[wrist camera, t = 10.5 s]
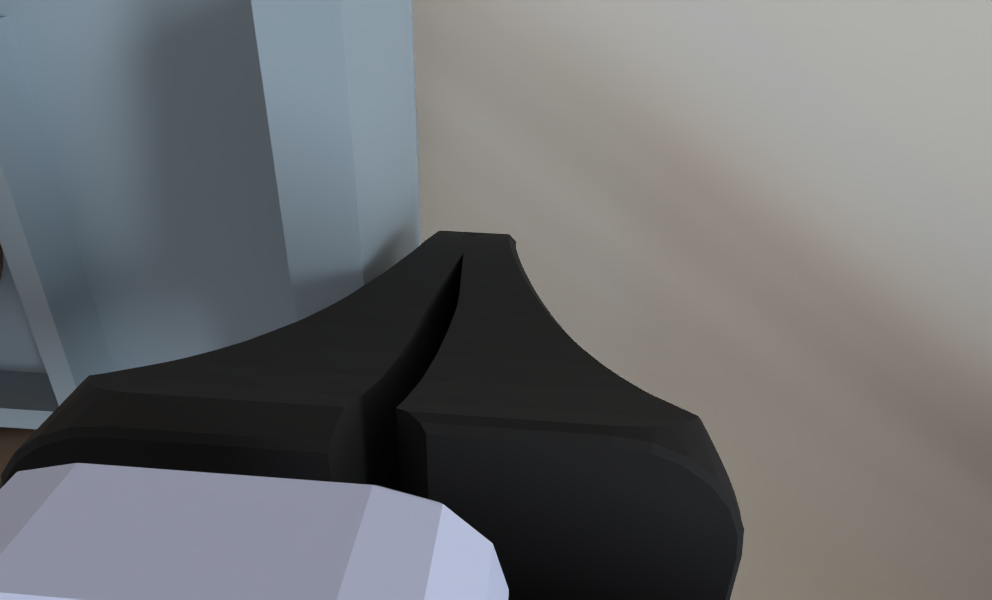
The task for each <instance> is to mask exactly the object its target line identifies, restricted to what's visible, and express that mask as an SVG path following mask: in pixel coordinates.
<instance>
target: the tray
mask: <svg viewBox="0 0 992 600" xmlns="http://www.w3.org/2000/svg"><path fill="white" fill-rule="evenodd" d="M0 244H1V246H2V249H3V269H2V275H1V280H0V427H9V428H23V429H38V428H39V427H40V425H41V424H42V423H43V422H44V421H45V420H46V419H47V418H48V417H49V416H50V415H51V414H52V413H53V412H54V411H55V410H56V409H57V408H58V407H59V406H60V405H61V404H62V402H63V401H64V400H65V399H66V398H67V397H68V396H69V395H70V394H71V393H72V392H73V391H74V390H75V389H76V388H77V387H78V386H79V385H80V384H81V383H82V382H83V381H84V380H85V379H86V378H87V377H88V376H89V375H95V374H102V373H109V372H114V371H120V370H125V369H131V368H136V367H142V366H147V365H153V364H159V363H164V362H169V361H173V360H178V359H182V358H187V357H190V356H194V355H198V354H202V353H206V352H210V351H214V350H217V349H221V348H224V347H227V346H231V345H234V344H238V343H241V342H244V341H247V340H250V339H252V338H255V337H258V336H260V335H263V334H266V333H268V332H271V331H274V330H276V329H279V328H282V327H284V326H287V325H289V324H292V323H295V322H297V321H299V320H302V319H304V318H306V317H308V316H310V315H312V314H314V313H316V312H318V311H320V310H322V309H324V308H327V307H328V306H330V305H332V304H334V303H336V302H338V301H340V300H341V299H343V298H345V297H347V296H348V295H350V294H352V293H353V292H355V291H356V290H358V289H359V288H361V287H362V286H364V285H365V284H367V283H369V282H370V281H372V280H373V279H375V278H376V277H378V276H379V275H381V274H382V273H384V272H385V271H387V270H388V269H390V268H391V267H392V266H394V265H395V264H396V263H398V262H399V261H400V260H402V259H403V258H404V257H406V256H407V255H408V254H410V253H411V252H412V251H413V250H415V249H416V248H417V247H419V246H420V245H421V229H420V203H419V176H418V149H417V123H416V96H415V69H414V43H413V16H412V0H0Z"/></svg>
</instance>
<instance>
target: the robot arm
mask: <svg viewBox="0 0 992 600" xmlns="http://www.w3.org/2000/svg"><path fill="white" fill-rule="evenodd" d="M743 534H744V528H743V524H742V521H741V516H740V510H739V507H738V503H737V500H736V496H735V493H734V490H733V488H732V485H731V482H730V480H729V477H728V475H727V472H726V470H725V468H724V466H723V463H722V461H721V459H720V457H719V455H718V453H717V451H716V449H715V447H714V445H713V443H712V441H711V439H710V436H709V434H708V432H707V430H706V429H705V427H704V425H703V423H702V421H701V419H700V418H699V417H698V416H697V415H695V414H692V413H690V412H688V411H686V410H684V409H681V408H679V407H677V406H675V405H673V404H670V403H668V402H666V401H664V400H662V399H659V398H657V397H655V396H653V395H651V394H649V393H647V392H645V391H643V390H641V389H640V388H638V387H636V386H635V385H633V384H631V383H630V382H628V381H626V380H625V379H623V378H621V377H620V376H618V375H617V374H615V373H614V372H612V371H611V370H609V369H608V368H606V367H605V366H604V365H602V364H601V363H600V362H598V361H597V360H596V359H595V358H593V357H592V356H591V355H590V354H588V353H587V352H586V351H585V350H583V349H582V348H581V347H580V346H579V345H578V344H577V343H576V342H574V341H573V340H572V339H571V337H570V336H569V335H568V334H567V333H566V332H565V331H564V330H563V329H562V328H561V326H560V325H559V324H558V323H557V322H556V320H555V319H554V318H553V316H552V315H551V314H550V312H549V311H548V310H547V308H546V307H545V305H544V304H543V302H542V301H541V299H540V298H539V296H538V295H537V293H536V292H535V290H534V288H533V286H532V284H531V282H530V281H529V279H528V277H527V275H526V273H525V271H524V269H523V267H522V264H521V262H520V260H519V257H518V254H517V251H516V241H515V240H514V239H513V238H512V237H511V236H510V235H509V234H491V233H472V232H453V231H438V232H437V233H435V234H434V235H433V236H431V237H430V238H429V239H427V240H426V241H425V242H424V243H422V244H421V245H420V246H419V247H417V248H416V249H415V250H413V251H412V252H411V253H410V254H408V255H407V256H406V257H404V258H403V259H402V260H400V261H399V262H398V263H396V264H395V265H394V266H392V267H391V268H390V269H388V270H387V271H385V272H384V273H382V274H381V275H379V276H378V277H376V278H375V279H373V280H372V281H370V282H369V283H367V284H365V285H364V286H362V287H361V288H359V289H358V290H356V291H355V292H353V293H352V294H350V295H348V296H347V297H345V298H343V299H341V300H340V301H338V302H336V303H334V304H332V305H330V306H328V307H327V308H324V309H322V310H320V311H318V312H316V313H314V314H312V315H310V316H308V317H306V318H304V319H302V320H299V321H297V322H295V323H292V324H289V325H287V326H284V327H282V328H279V329H276V330H274V331H271V332H268V333H266V334H263V335H260V336H258V337H255V338H252V339H250V340H247V341H244V342H241V343H238V344H234V345H231V346H227V347H224V348H221V349H217V350H214V351H210V352H206V353H202V354H198V355H194V356H190V357H187V358H182V359H178V360H173V361H169V362H164V363H159V364H153V365H147V366H142V367H136V368H131V369H125V370H120V371H114V372H109V373H102V374H95V375H89V376H88V377H87V378H86V379H85V380H84V381H83V382H82V383H81V384H80V385H79V386H78V387H77V388H76V389H75V390H74V391H73V392H72V393H71V394H70V395H69V396H68V397H67V398H66V399H65V400H64V401H63V402H62V404H61V405H60V406H59V407H58V408H57V409H56V410H55V411H54V412H53V413H52V414H51V415H50V416H49V417H48V418H47V419H46V420H45V421H44V422H43V423H42V424H41V425H40V427H39V428H38V429H37V430H36V431H35V432H34V433H33V434H32V435H31V436H30V437H29V438H28V439H27V440H26V441H25V442H24V443H23V444H22V445H21V446H20V447H19V448H18V449H17V451H16V452H15V453H14V454H13V456H12V457H11V459H10V461H9V462H8V464H7V466H6V467H5V469H4V471H3V472H2V474H1V481H0V600H730V596H731V592H732V589H733V585H734V582H735V578H736V574H737V571H738V567H739V564H740V560H741V556H742V546H743Z"/></svg>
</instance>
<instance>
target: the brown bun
mask: <svg viewBox="0 0 992 600" xmlns="http://www.w3.org/2000/svg"><path fill="white" fill-rule="evenodd" d="M2 269H3V249H2V246H1V244H0V280H1V275H2Z"/></svg>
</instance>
